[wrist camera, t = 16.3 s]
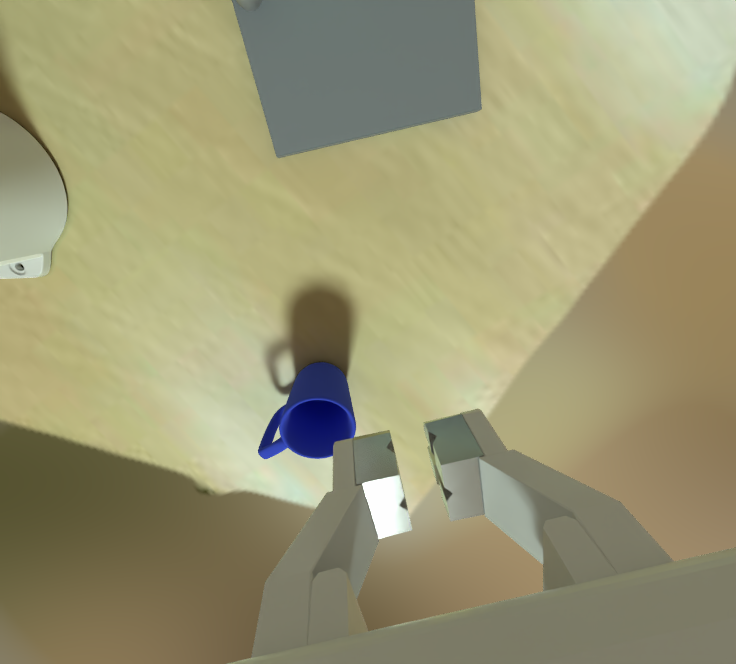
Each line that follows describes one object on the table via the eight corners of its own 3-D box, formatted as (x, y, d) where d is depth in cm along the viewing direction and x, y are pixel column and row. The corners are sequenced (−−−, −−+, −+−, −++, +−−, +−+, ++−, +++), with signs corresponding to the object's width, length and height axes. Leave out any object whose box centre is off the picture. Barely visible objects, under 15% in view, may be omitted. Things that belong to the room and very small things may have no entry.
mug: (254, 388, 46) (233, 439, 37) (329, 342, 44) (328, 383, 35) (291, 429, 49) (280, 485, 40) (363, 388, 47) (370, 436, 38)
